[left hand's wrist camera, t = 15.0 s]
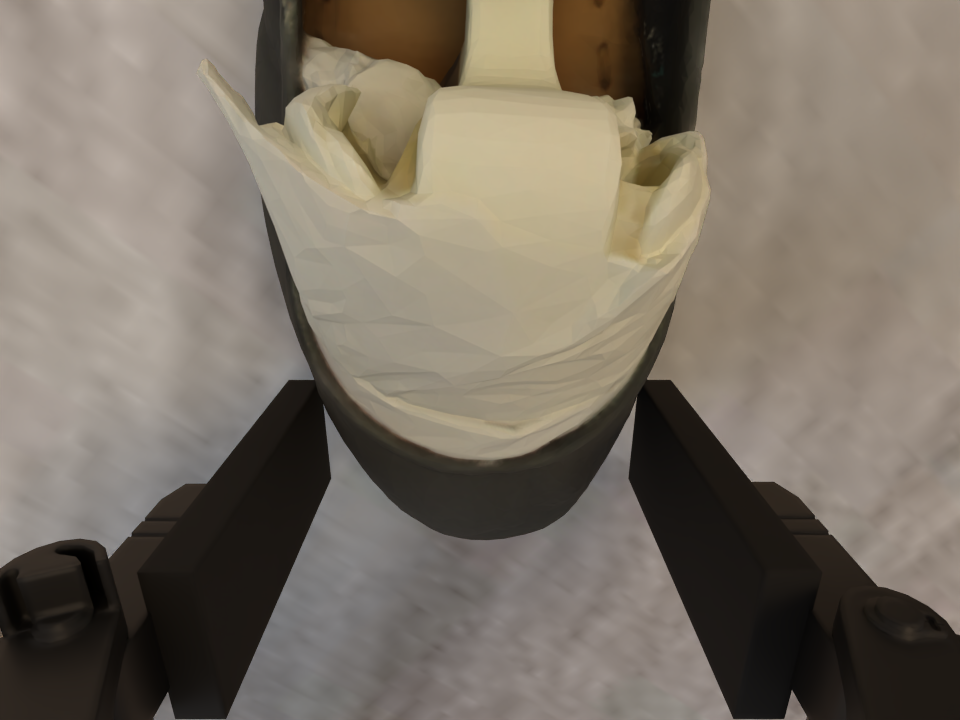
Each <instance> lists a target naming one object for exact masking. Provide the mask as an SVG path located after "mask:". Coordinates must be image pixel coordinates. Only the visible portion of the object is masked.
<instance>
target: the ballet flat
mask: <svg viewBox="0 0 960 720" xmlns="http://www.w3.org/2000/svg"><path fill="white" fill-rule="evenodd" d="M710 1H711V0H263V2H264V10H263V14H262V18H261V22H260V26H259V31H258V39H257V49H256V68H255V116H254V114H253V112H252V111H251V109H250V107H249V106H248V104H247V103H246V101H245V100H244V98H243V96H241V95H240V94H239V93H237V92H236V91H234V90H233V89H232V88H231V87H230V85H229V84H228V83H227V82H226V81H225V80H224V79H223V78H222V77H221V75H220V74H219V73H218V72H217V70H216V68H215V66H214V65H213V64H212V63H211V62H210V61H209V60H207V59H205V60H202V62H201V64H200V66H199V68H198V71H197V73H196V74H197V75H198V77H199V78H200V79H201V80H202V82H203V83H204V84H205V85H206V87H207V89H208V90H209V92H210V93H211V95H212V97H213V98H214V100H215V102H216V103H217V105H218V106H219V108H220V110H221V111H222V113H223V115H224V116H225V118H226V119H227V121H228V123H229V125H230V127H231V129H232V131H233V133H234V135H235V137H236V139H237V141H238V143H239V144H240V146H241V148H242V150H243V152H244V154H245V156H246V158H247V160H248V162H249V165H250V167H251V170H252V172H253V175H254V177H255V180H256V182H257V185H258V187H259V189H260V192H261V197H262V204H263V210H264V216H265V222H266V227H267V232H268V236H269V241H270V245H271V250H272V254H273V259H274V263H275V267H276V270H277V274H278V277H279V281H280V284H281V288H282V291H283V295H284V298H285V302H286V305H287V309H288V312H289V316H290V319H291V322H292V324H293V327H294V330H295V333H296V335H297V338H298V341H299V343H300V346H301V349H302V351H303V353H304V355H305V357H306V360H307V362H308V364H309V367H310V369H311V372H312V374H313V377H314V379H315V383H316V386H317V390H318V393H319V396H320V398H321V400H322V402H323V404H324V406H325V408H326V410H327V412H328V414H329V416H330V418H331V420H332V421H333V423H334V425H335V427H336V428H337V430H338V432H339V434H340V436H341V437H342V439H343V441H344V442H345V444H346V445H347V446H348V448H349V449H350V451H351V452H352V453H353V455H354V456H355V458H356V459H357V461H358V462H359V464H360V465H361V466H362V468H363V469H364V470H365V472H366V473H367V474H368V475H369V477H370V478H371V479H372V481H373V482H374V483H375V484H376V485H377V486H378V487H379V488H380V489H381V490H382V491H383V492H384V493H385V494H386V496H387V497H388V498H389V499H390V500H391V501H392V502H393V503H395V504H396V505H397V506H398V507H399V508H400V509H401V510H402V511H404V512H405V513H407V514H408V515H410V516H411V517H413V518H415V519H417V520H418V521H420V522H421V523H423V524H425V525H426V526H428V527H429V528H431V529H433V530H435V531H438V532H440V533H442V534H445V535H449V536H454V537H458V538H464V539H470V540H493V539H504V538H509V537H514V536H518V535H524V534H527V533H531V532H534V531H537V530H540V529H543V528H545V527H547V526H548V525H550V524H551V523H553V522H555V521H556V520H558V519H559V518H560V517H562V516H563V515H565V514H566V513H567V512H568V511H569V510H570V508H571V507H572V506H573V505H574V504H575V503H576V502H577V500H578V499H579V497H580V496H581V495H582V494H583V492H584V491H585V490H586V489H587V487H588V485H589V484H590V482H591V481H592V479H593V478H594V476H595V475H596V473H597V471H598V470H599V468H600V467H601V465H602V463H603V462H604V460H605V459H606V457H607V455H608V454H609V452H610V450H611V448H612V446H613V445H614V443H615V441H616V439H617V438H618V436H619V434H620V432H621V430H622V428H623V426H624V424H625V422H626V421H627V419H628V417H629V415H630V413H631V410H632V408H633V405H634V403H635V400H636V397H637V394H638V393H639V391H640V390H641V388H642V387H643V385H644V383H645V381H646V379H647V377H648V375H649V373H650V371H651V369H652V367H653V365H654V363H655V361H656V358H657V356H658V354H659V352H660V349H661V347H662V345H663V343H664V340H665V337H666V334H667V330H668V327H669V323H670V320H671V316H672V313H673V309H674V304H675V299H676V293H677V291H678V288H679V286H680V283H681V281H682V278H683V276H684V273H685V271H686V268H687V265H688V262H689V259H690V257H691V255H692V253H693V251H694V249H695V247H696V245H697V243H698V240H699V237H700V233H701V230H702V226H703V222H704V219H705V215H706V212H707V208H708V205H709V201H710V193H711V188H710V185H709V182H708V179H707V152H706V147H705V141H704V138H703V136H702V135H701V134H700V133H699V132H695V131H694V129H695V124H696V118H697V105H698V94H699V89H700V83H701V70H702V67H703V62H704V52H705V43H706V34H707V26H708V18H709V9H710Z"/></svg>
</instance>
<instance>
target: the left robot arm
mask: <svg viewBox="0 0 960 720" xmlns="http://www.w3.org/2000/svg"><path fill="white" fill-rule="evenodd" d="M330 480H331V473H330V463H329V454H328V445H327V435H326V426H325V416H324V407H323V402H322V400H321V398H320V396H319V393H318V390H317V386H316V383H315V380H289V381H288V382H287V383H286V384H285V386H284V387H283V388H282V389H281V391H280V392H279V393H278V394H277V396H276V397H275V398H274V400H273V401H272V402H271V403H270V405H269V406H268V407H267V408H266V410H265V411H264V412H263V413H262V415H261V416H260V417H259V419H258V420H257V421H256V422H255V424H254V425H253V426H252V427H251V429H250V430H249V431H248V432H247V434H246V435H245V436H244V437H243V439H242V440H241V441H240V443H239V444H238V445H237V446H236V448H235V449H234V450H233V451H232V453H231V454H230V455H229V456H228V458H227V459H226V460H225V462H224V463H223V464H222V465H221V467H220V468H219V469H218V470H217V472H216V473H215V474H214V475H213V477H212V478H211V479H210V480H209V482H208V483H207V484H185V485H183V486H182V487H180V488H179V489H177V490H175V491H174V492H172V493H171V494H169V495H168V496H166V497H164V498H163V499H161V500H160V502H159V503H158V504H157V505H156V506H155V507H154V508H153V510H152V511H151V512H150V513H149V514H148V515H147V516H146V517H145V521H142V522H141V523H140V524H139V525H138V526H137V528H136V529H135V530H134V531H133V532H132V536H131V537H128V538H127V539H126V540H125V541H124V542H123V543H122V545H121V546H120V547H119V548H118V549H117V550H116V551H115V553H114V554H113V555H112V556H111V557H110V558H109V559H108V556H107V552H106V549H105V547H103V546H102V545H101V544H99V543H98V542H97V541H92V540H85V539H74V540H65V541H58V542H55V543H52V544H48V545H45V546H41V547H38V548H36V549H33V550H31V551H29V552H27V553H25V554H23V555H21V556H19V557H17V558H15V559H13V560H12V561H10V562H9V563H7V564H6V565H5V566H3V567H2V568H0V629H1V632H2V634H3V637H2V638H0V720H154V719H153V717H154V715H155V714H156V712H157V710H158V708H159V707H160V705H161V703H162V701H163V700H164V698H165V696H166V694H167V692H168V693H169V697H170V701H171V704H172V708H173V712H174V716H175V719H226V718H227V715H228V713H229V711H230V709H231V706H232V704H233V702H234V699H235V697H236V695H237V693H238V690H239V688H240V686H241V683H242V681H243V679H244V677H245V674H246V672H247V670H248V667H249V665H250V663H251V661H252V658H253V656H254V654H255V651H256V649H257V647H258V645H259V642H260V640H261V638H262V635H263V633H264V631H265V629H266V626H267V624H268V622H269V619H270V617H271V615H272V613H273V610H274V608H275V606H276V603H277V601H278V599H279V597H280V594H281V592H282V590H283V587H284V585H285V583H286V580H287V578H288V576H289V574H290V571H291V569H292V567H293V564H294V562H295V560H296V558H297V555H298V553H299V551H300V548H301V546H302V544H303V542H304V539H305V537H306V535H307V532H308V530H309V528H310V526H311V523H312V521H313V519H314V516H315V514H316V512H317V510H318V507H319V505H320V503H321V500H322V498H323V496H324V494H325V491H326V489H327V487H328V484H329V482H330ZM629 481H630V483H631V485H632V488H633V490H634V492H635V494H636V497H637V499H638V501H639V504H640V506H641V508H642V511H643V513H644V515H645V517H646V520H647V522H648V524H649V527H650V529H651V531H652V533H653V536H654V538H655V540H656V543H657V545H658V547H659V549H660V552H661V554H662V556H663V559H664V561H665V563H666V565H667V568H668V570H669V572H670V575H671V577H672V579H673V581H674V584H675V586H676V588H677V591H678V593H679V595H680V597H681V600H682V602H683V604H684V607H685V609H686V611H687V613H688V616H689V618H690V620H691V623H692V625H693V627H694V630H695V632H696V634H697V636H698V639H699V641H700V643H701V646H702V648H703V650H704V652H705V655H706V657H707V659H708V662H709V664H710V666H711V668H712V671H713V673H714V675H715V678H716V680H717V682H718V684H719V687H720V689H721V691H722V694H723V696H724V698H725V700H726V703H727V705H728V707H729V710H730V712H731V714H732V716H733V719H784V718H785V714H786V710H787V706H788V702H789V699H790V695H791V691H792V690H793V692H794V694H795V696H796V697H797V699H798V701H799V703H800V704H801V706H802V708H803V710H804V711H805V713H806V715H807V719H806V720H960V635H957V634H955V633H954V631H953V630H952V628H951V627H950V626H949V624H948V623H947V621H946V620H945V619H943V618H942V617H941V616H940V615H938V614H937V613H936V612H935V611H933V610H932V609H931V608H930V607H929V606H927V605H925V604H923V603H921V602H919V601H917V600H916V599H914V598H912V597H910V596H908V595H906V594H903V593H900V592H897V591H894V590H891V589H888V588H884V587H878V586H877V585H876V584H875V583H874V582H873V581H872V580H871V578H870V577H869V576H868V575H867V574H866V573H865V572H864V571H863V569H862V568H861V567H860V566H859V565H858V564H857V563H856V562H855V560H854V559H853V558H852V557H851V556H850V555H849V554H848V553H847V551H846V550H845V549H844V548H843V547H842V546H841V545H840V544H839V542H838V541H837V540H836V539H835V538H834V537H833V536H832V535H829V534H828V530H827V529H826V528H825V527H824V526H823V524H822V523H821V522H820V521H819V520H818V519H815V515H814V514H813V513H812V512H811V511H810V510H809V509H808V508H807V506H806V505H805V504H804V503H803V502H802V501H801V500H800V499H799V497H797V496H795V495H794V494H792V493H791V492H789V491H787V490H786V489H784V488H783V487H781V486H780V485H778V484H776V483H775V482H751V481H750V480H749V479H748V477H747V476H746V475H745V473H744V472H743V471H742V470H741V468H740V467H739V466H738V465H737V463H736V462H735V461H734V460H733V458H732V457H731V456H730V455H729V453H728V452H727V451H726V449H725V448H724V447H723V446H722V444H721V443H720V442H719V441H718V439H717V438H716V437H715V436H714V434H713V433H712V432H711V430H710V429H709V428H708V427H707V425H706V424H705V423H704V422H703V420H702V419H701V418H700V417H699V415H698V414H697V413H696V411H695V410H694V409H693V408H692V406H691V405H690V404H689V403H688V401H687V400H686V399H685V398H684V396H683V395H682V394H681V393H680V391H679V390H678V389H677V387H676V386H675V385H674V384H673V382H672V381H671V380H646V381H645V383H644V385H643V387H642V388H641V390H640V391H639V393H638V394H637V403H636V412H635V422H634V431H633V441H632V450H631V460H630V469H629Z"/></svg>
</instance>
